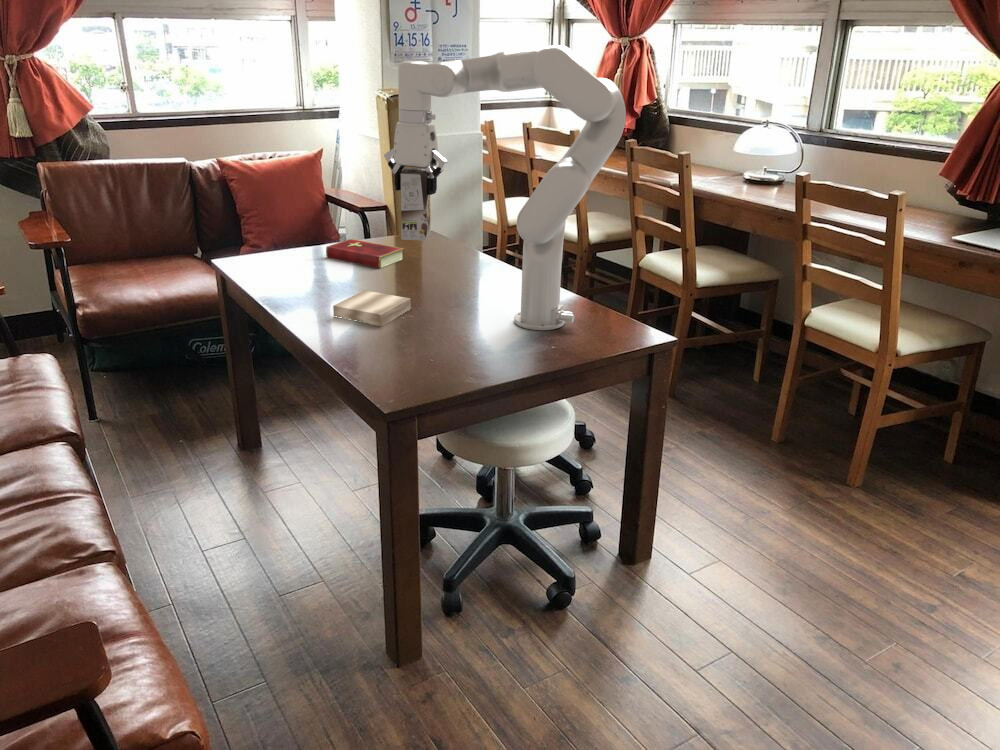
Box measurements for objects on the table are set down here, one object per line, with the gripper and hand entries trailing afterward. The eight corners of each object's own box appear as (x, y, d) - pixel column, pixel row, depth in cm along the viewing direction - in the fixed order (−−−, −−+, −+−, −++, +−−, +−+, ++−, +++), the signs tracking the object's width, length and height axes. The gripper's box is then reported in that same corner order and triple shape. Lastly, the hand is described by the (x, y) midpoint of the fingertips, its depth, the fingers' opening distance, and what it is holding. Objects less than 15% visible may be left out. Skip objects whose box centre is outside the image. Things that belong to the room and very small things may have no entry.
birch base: (410, 309, 210) (410, 298, 208) (381, 326, 198) (381, 314, 197) (365, 301, 215) (364, 290, 214) (333, 317, 203) (333, 305, 202)
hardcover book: (380, 270, 243) (379, 256, 241) (326, 259, 252) (325, 245, 251) (404, 260, 252) (403, 247, 251) (351, 250, 262) (350, 237, 260)
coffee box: (426, 241, 198) (426, 173, 191) (400, 240, 198) (399, 172, 191) (431, 232, 206) (431, 167, 199) (406, 231, 206) (405, 166, 200)
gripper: (455, 119, 190) (454, 193, 197) (392, 112, 197) (393, 185, 204) (439, 122, 184) (439, 199, 191) (374, 115, 190) (376, 190, 198)
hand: (415, 191), depth 197 cm, fingers closed on coffee box, 8 cm apart
